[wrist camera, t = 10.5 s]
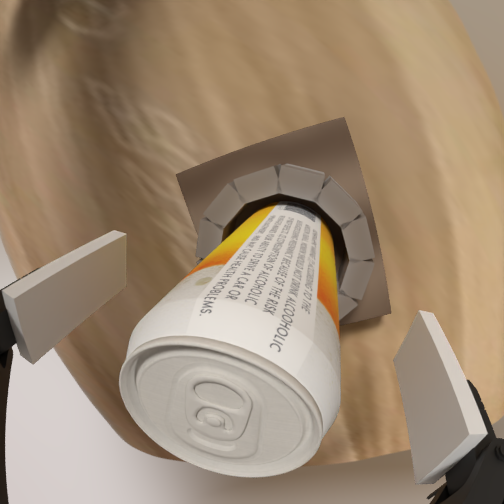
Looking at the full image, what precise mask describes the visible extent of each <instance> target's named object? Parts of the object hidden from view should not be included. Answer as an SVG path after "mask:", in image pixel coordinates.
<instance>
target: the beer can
mask: <svg viewBox="0 0 504 504" xmlns="http://www.w3.org/2000/svg"><path fill="white" fill-rule="evenodd" d="M119 388H120V393H121V396H122V399H123V402H124V404H125V406H126V408H127V410H128V412H129V413H130V415H131V417H132V418H133V419H134V421H135V422H136V423H137V424H138V426H139V427H140V428H141V429H142V430H143V431H144V432H145V433H146V434H147V435H148V436H149V437H150V438H151V439H152V440H153V441H155V442H156V443H157V444H158V445H160V446H161V447H162V448H164V449H165V450H167V451H168V452H170V453H171V454H173V455H175V456H176V457H178V458H180V459H182V460H184V461H186V462H188V463H190V464H193V465H195V466H197V467H200V468H203V469H206V470H209V471H213V472H216V473H220V474H224V475H231V476H237V477H252V478H253V477H254V478H255V477H269V476H275V475H279V474H284V473H287V472H290V471H292V470H294V469H297V468H299V467H300V466H302V465H304V464H305V463H306V462H308V461H309V460H310V459H311V458H312V457H313V456H314V455H315V453H316V452H317V450H318V448H319V446H320V444H321V440H322V438H323V437H324V435H325V434H326V433H327V431H328V430H329V429H330V427H331V426H332V424H333V423H334V421H335V419H336V417H337V414H338V412H339V407H340V401H341V367H340V331H339V310H338V293H337V279H336V266H335V255H334V244H333V238H332V234H331V231H330V229H329V227H328V225H327V224H326V222H325V221H324V219H323V218H322V217H321V216H320V215H319V214H318V213H317V212H315V211H314V210H313V209H311V208H309V207H308V206H305V205H303V204H300V203H297V202H291V201H279V202H274V203H271V204H268V205H266V206H264V207H262V208H260V209H259V210H257V211H256V212H255V213H254V214H253V215H252V216H250V217H249V218H248V219H247V220H246V221H245V222H244V223H243V224H242V225H241V226H239V227H238V228H237V229H236V230H235V231H234V232H233V233H232V234H231V235H230V236H229V237H228V238H226V239H225V240H224V241H223V242H222V243H221V244H220V245H219V246H218V247H217V248H216V249H215V250H213V251H212V252H211V253H210V254H209V255H208V256H207V257H206V258H205V259H204V260H203V261H202V262H201V263H200V264H198V265H197V266H196V267H195V268H194V269H193V270H192V271H191V272H190V273H189V274H188V275H187V276H186V277H185V278H184V279H183V280H182V281H180V282H179V283H178V284H177V285H176V286H175V287H174V288H173V289H172V290H171V291H170V292H169V293H168V294H167V295H166V296H165V297H164V298H163V299H162V300H161V301H160V302H159V303H157V304H156V305H155V306H154V307H153V308H152V309H151V310H150V311H149V312H148V313H147V314H146V315H145V316H144V317H143V318H142V319H141V320H140V321H139V323H138V324H137V325H136V327H135V328H134V330H133V332H132V334H131V337H130V340H129V345H128V350H127V356H126V360H125V362H124V363H123V365H122V368H121V371H120V375H119Z"/></svg>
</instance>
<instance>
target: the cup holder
mask: <svg viewBox="0 0 504 504" xmlns="http://www.w3.org/2000/svg"><path fill="white" fill-rule="evenodd" d="M176 177H177V180H178V182H179V185H180V188H181V191H182V194H183V196H184V199H185V202H186V205H187V207H188V210H189V213H190V216H191V218H192V221H193V224H194V226H195V229H196V232H197V234H198V241H197V249H196V257H200V258H201V259H200V260H198V261H197V262H196V263H197V265H198V264H200V263H201V262H202V261H203V260H204V259H205V258H206V257H207V256H208V255H209V254H210V253H211V252H212V251H213V250H215V249H216V248H217V247H218V246H219V245H220V244H221V243H222V242H223V241H224V240H225V239H226V238H228V237H229V236H230V235H231V234H232V233H233V232H234V231H235V230H236V229H237V228H238V227H239V226H241V225H242V224H243V223H244V222H245V221H246V220H247V219H248V218H249V217H250V216H252V215H253V214H254V213H255V212H256V211H257V210H259V209H260V208H262V207H264V206H266V205H268V204H271V203H274V202H279V201H291V202H297V203H300V204H303V205H305V206H308V207H309V208H311V209H313V210H314V211H315V212H317V213H318V214H319V215H320V216H321V217H322V218H323V219H324V221H325V222H326V224H327V225H328V227H329V229H330V231H331V234H332V238H333V244H334V255H335V266H336V279H337V293H338V310H339V326H340V325H345V324H349V323H354V322H358V321H362V320H366V319H371V318H375V317H379V316H383V315H387V314H391V307H390V300H389V294H388V288H387V281H386V276H385V270H384V265H383V259H382V254H381V249H380V244H379V239H378V235H377V230H376V226H375V221H374V217H373V213H372V209H371V205H370V201H369V197H368V193H367V189H366V186H365V182H364V178H363V175H362V171H361V168H360V164H359V161H358V158H357V154H356V151H355V148H354V145H353V142H352V139H351V136H350V133H349V130H348V127H347V124H346V121H345V118H344V117H342V118H338V119H335V120H331V121H327V122H324V123H320V124H317V125H313V126H310V127H306V128H303V129H300V130H297V131H293V132H290V133H287V134H284V135H281V136H278V137H275V138H271V139H268V140H265V141H263V142H260V143H257V144H254V145H251V146H248V147H245V148H242V149H240V150H237V151H234V152H231V153H229V154H226V155H223V156H221V157H218V158H216V159H213V160H210V161H208V162H205V163H203V164H200V165H198V166H195V167H193V168H190V169H188V170H186V171H183V172H181V173H178V174H176Z"/></svg>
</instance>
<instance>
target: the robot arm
mask: <svg viewBox="0 0 504 504" xmlns="http://www.w3.org/2000/svg"><path fill="white" fill-rule="evenodd" d="M126 248H127V234H126V233H122V232H119V231H115V230H113V231H111V232H109V233H107V234H105V235H103V236H101V237H99V238H97V239H95V240H93V241H91V242H89V243H87V244H85V245H83V246H81V247H79V248H77V249H75V250H73V251H71V252H69V253H67V254H66V255H64V256H62V257H60V258H58V259H56V260H54V261H52V262H51V263H49V264H47V265H45V266H43V267H40V268H38V269H36V270H34V271H32V272H30V273H29V275H28V274H27V275H25V276H23V277H22V279H18V280H16V281H15V282H13V283H11V284H10V285H8V286H6V287H5V288H3V289H1V290H0V504H9V503H8V494H7V484H6V467H5V424H6V408H7V397H8V387H9V379H10V371H11V365H12V359H13V350H12V346H13V345H14V344H16V343H17V346H18V349H19V352H20V355H21V356H22V357H24V358H25V359H26V360H28V361H29V362H30V363H32V364H35V363H36V362H37V361H38V360H39V359H40V358H41V357H42V356H43V355H45V354H46V353H47V352H48V351H49V350H50V349H52V348H53V347H54V346H55V345H56V344H57V343H59V342H60V341H61V340H62V339H63V338H64V337H66V336H67V335H68V334H69V333H70V332H71V331H73V330H74V329H75V328H76V327H77V326H79V325H80V324H81V323H82V322H83V321H85V320H86V319H87V318H88V317H89V316H91V315H92V314H93V313H94V312H95V311H97V310H98V309H99V308H100V307H102V306H103V305H104V304H105V303H107V302H108V301H109V300H110V299H111V298H113V297H114V296H115V295H116V294H118V293H119V292H120V291H121V290H123V289H124V288H125V287H126ZM393 361H394V365H395V369H396V373H397V378H398V382H399V387H400V391H401V396H402V401H403V406H404V411H405V416H406V422H407V427H408V433H409V440H410V446H411V452H412V460H413V468H414V476H415V484H434V483H435V482H436V481H437V480H439V479H440V478H441V477H442V476H444V475H445V476H446V481H447V482H446V483H444V484H443V485H442V486H441V487H439V488H438V489H437V490H435V491H434V492H433V493H431V494H430V495H429V496H428V497H427V499H430V498H431V497H433V496H434V495H435V497H434V498H433V500H432V501H431V503H430V504H504V439H502V438H496V436H495V433H494V430H493V428H492V425H491V422H490V420H489V417H488V415H487V412H486V410H484V408H485V407H484V405H483V403H482V402H481V398H480V396H479V393H478V391H477V389H476V388H475V387H474V385H473V384H472V383H471V382H470V381H469V380H466V378H465V376H464V374H463V371H462V369H461V367H460V365H459V363H458V361H457V359H456V357H455V354H454V352H453V350H452V348H451V346H450V344H449V342H448V340H447V338H446V337H445V335H444V333H443V331H442V329H441V327H440V325H439V323H438V321H437V320H436V318H435V316H434V314H433V313H430V312H425V311H421V310H419V311H418V313H417V315H416V317H415V319H414V321H413V323H412V325H411V327H410V329H409V331H408V333H407V335H406V337H405V339H404V341H403V343H402V345H401V347H400V349H399V350H398V352H397V354H396V356H395V358H394V360H393Z"/></svg>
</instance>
